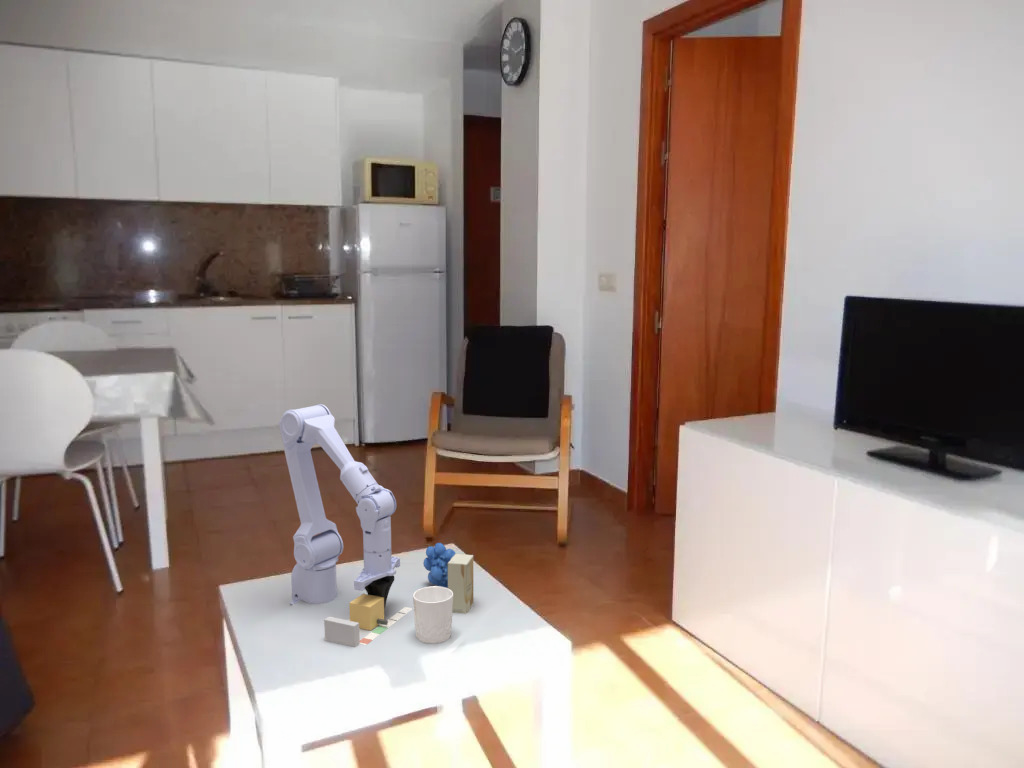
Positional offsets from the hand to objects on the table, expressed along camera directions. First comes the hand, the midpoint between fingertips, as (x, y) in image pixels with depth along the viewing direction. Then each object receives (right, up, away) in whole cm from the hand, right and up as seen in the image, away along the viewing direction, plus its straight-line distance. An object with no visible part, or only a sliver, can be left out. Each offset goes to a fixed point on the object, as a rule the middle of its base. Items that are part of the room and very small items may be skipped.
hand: (378, 610), depth 161 cm
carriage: (-1, -2, -4) cm, 5 cm away
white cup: (+12, -4, -9) cm, 16 cm away
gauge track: (-1, -3, -3) cm, 4 cm away
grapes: (+12, -1, +13) cm, 18 cm away
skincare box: (+17, -2, +5) cm, 18 cm away
